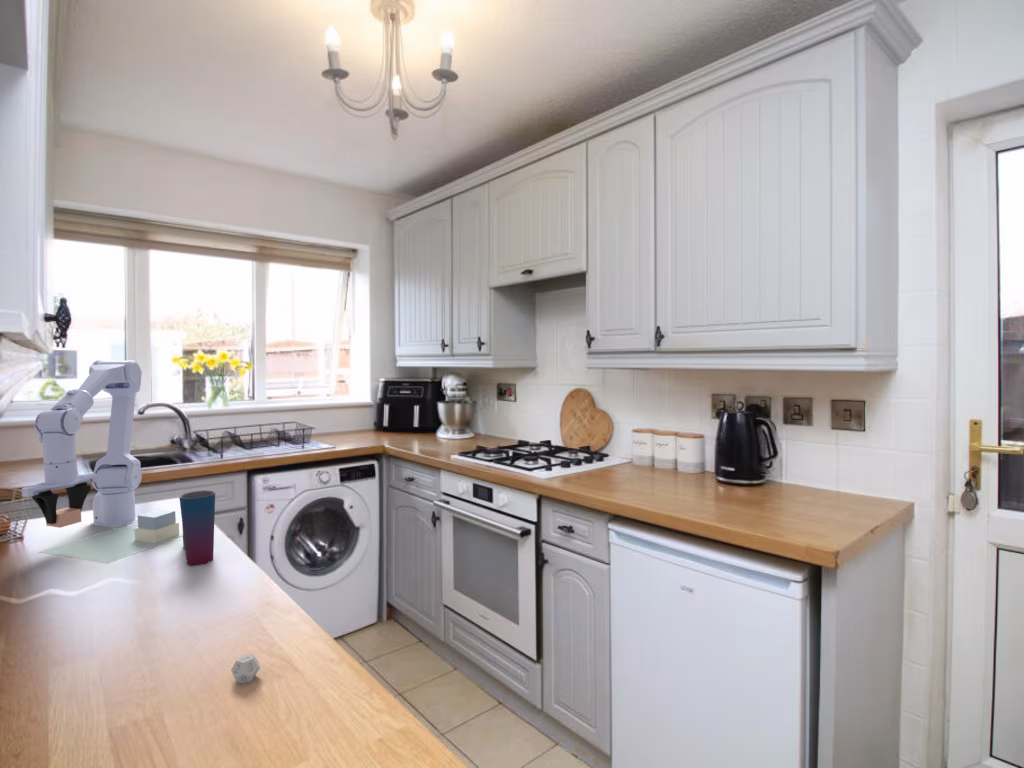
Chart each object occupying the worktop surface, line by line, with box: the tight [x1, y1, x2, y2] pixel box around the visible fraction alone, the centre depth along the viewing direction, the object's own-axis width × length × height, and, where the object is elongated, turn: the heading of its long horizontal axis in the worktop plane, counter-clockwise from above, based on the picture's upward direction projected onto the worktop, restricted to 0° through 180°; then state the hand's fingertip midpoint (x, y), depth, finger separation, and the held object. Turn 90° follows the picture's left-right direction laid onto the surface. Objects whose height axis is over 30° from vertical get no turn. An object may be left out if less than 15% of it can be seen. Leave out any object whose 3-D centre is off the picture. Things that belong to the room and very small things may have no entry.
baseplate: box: [39, 525, 183, 564], centre depth 128 cm, size 22×19×1 cm
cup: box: [179, 489, 216, 567], centre depth 118 cm, size 7×7×15 cm
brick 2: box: [137, 509, 177, 530], centre depth 132 cm, size 6×6×3 cm
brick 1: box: [45, 506, 82, 529], centre depth 124 cm, size 4×4×3 cm
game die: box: [230, 653, 261, 684], centre depth 75 cm, size 4×4×3 cm
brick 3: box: [133, 521, 180, 543], centre depth 132 cm, size 6×6×3 cm
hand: (63, 519), depth 124 cm, fingers closed on brick 1, 4 cm apart
